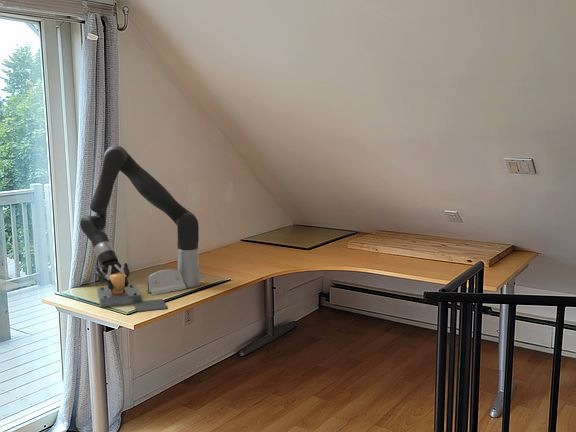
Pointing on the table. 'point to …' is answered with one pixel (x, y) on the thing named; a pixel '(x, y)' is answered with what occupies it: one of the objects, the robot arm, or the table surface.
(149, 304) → the mat
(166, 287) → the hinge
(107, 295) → the housing
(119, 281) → the wooden block
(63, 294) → the table surface
